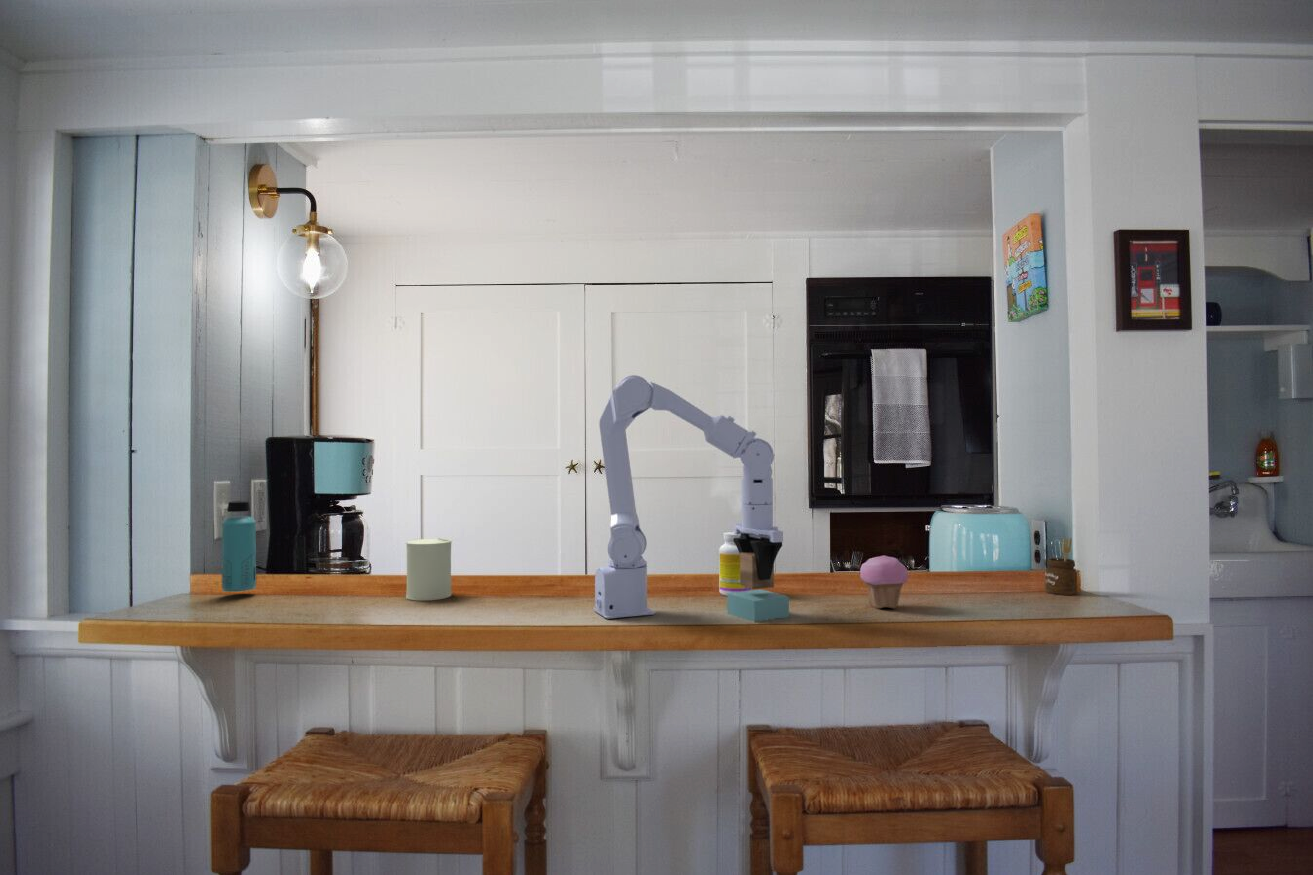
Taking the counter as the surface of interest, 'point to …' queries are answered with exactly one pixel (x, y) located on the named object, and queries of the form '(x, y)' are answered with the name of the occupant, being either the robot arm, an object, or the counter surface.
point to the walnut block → (752, 573)
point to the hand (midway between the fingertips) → (757, 577)
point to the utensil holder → (1061, 573)
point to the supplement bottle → (730, 566)
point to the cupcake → (883, 580)
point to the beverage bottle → (238, 550)
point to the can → (428, 569)
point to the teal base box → (757, 605)
